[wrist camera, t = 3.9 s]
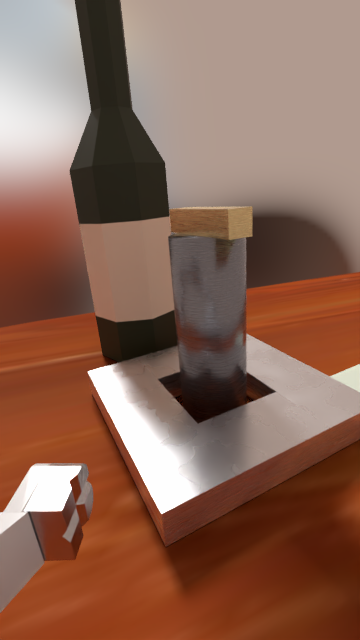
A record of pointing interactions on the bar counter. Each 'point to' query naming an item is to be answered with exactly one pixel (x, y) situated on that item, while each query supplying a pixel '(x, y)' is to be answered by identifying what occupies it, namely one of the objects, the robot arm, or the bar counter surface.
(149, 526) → the bar counter surface
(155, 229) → the wine bottle
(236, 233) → the t key
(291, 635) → the bar counter surface
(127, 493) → the bar counter surface
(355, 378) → the coaster
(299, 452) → the plate
